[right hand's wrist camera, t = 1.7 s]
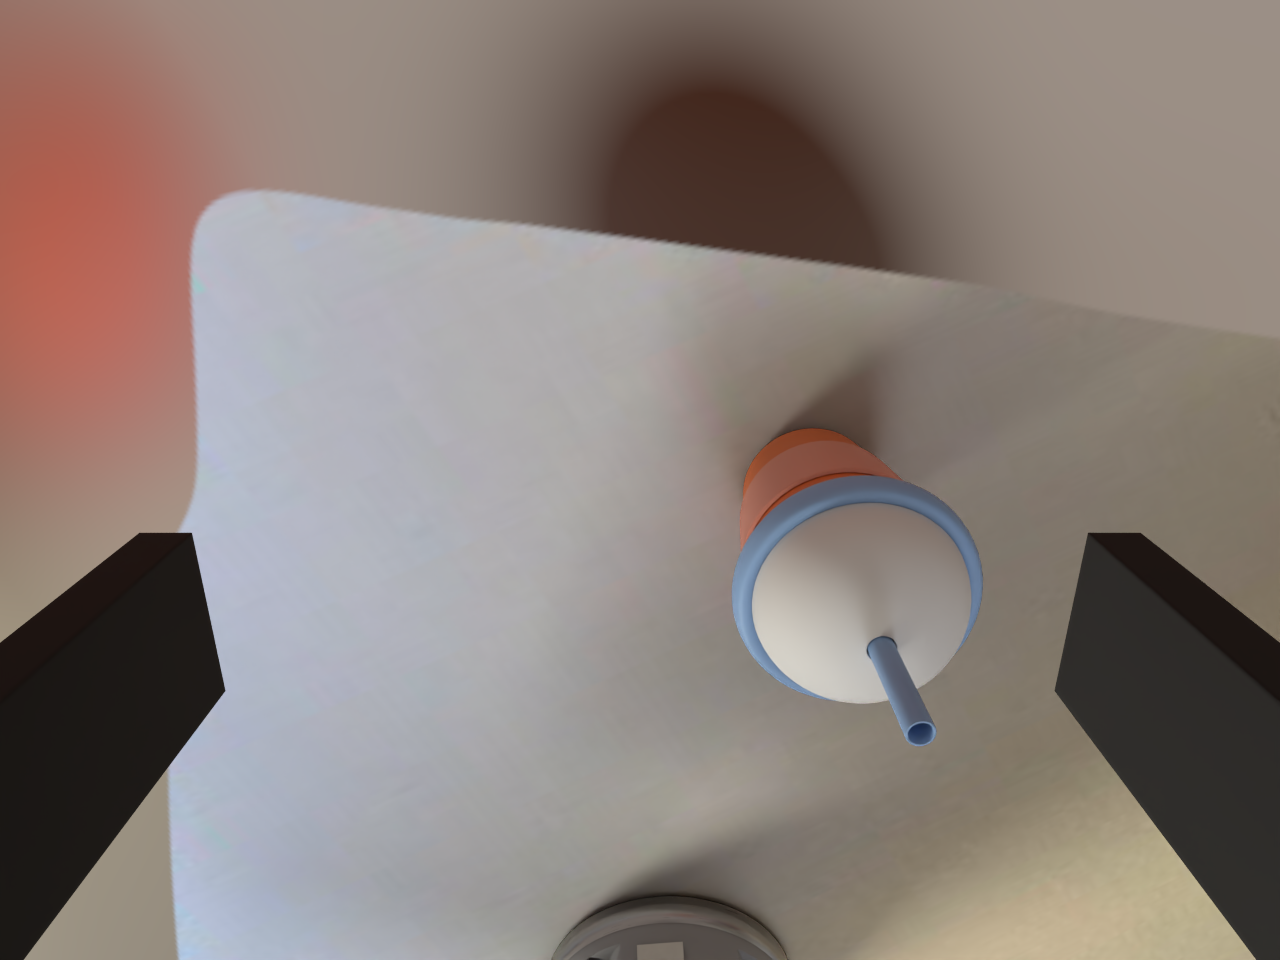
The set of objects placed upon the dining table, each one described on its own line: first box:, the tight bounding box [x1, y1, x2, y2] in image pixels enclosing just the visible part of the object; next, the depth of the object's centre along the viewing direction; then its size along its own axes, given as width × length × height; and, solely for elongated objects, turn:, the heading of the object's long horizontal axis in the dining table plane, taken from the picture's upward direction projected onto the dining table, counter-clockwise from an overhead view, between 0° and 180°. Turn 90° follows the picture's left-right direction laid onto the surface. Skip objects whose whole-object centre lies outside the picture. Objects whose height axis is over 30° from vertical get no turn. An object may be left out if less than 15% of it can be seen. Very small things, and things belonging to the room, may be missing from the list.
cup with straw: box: [732, 428, 983, 746], centre depth 33 cm, size 9×9×18 cm
